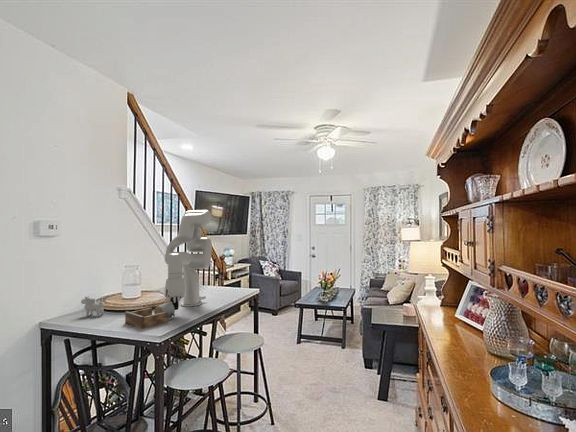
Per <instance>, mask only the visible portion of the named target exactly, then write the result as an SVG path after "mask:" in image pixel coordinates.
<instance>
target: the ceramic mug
mask: <svg viewBox="0 0 576 432" xmlns="http://www.w3.org/2000/svg"><path fill="white" fill-rule="evenodd" d="M163 312H167V316H168V321H171V320H174V319H175V316H176V313H175V312H176V310H175V308H174V306H173V304H172V302H171V301H170V302H169V301H168V302H165V303H162V304H159V305H157V306H155V308H154V314H153V315H155V314H159V313H163Z"/></svg>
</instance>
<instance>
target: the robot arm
mask: <svg viewBox="0 0 576 432" xmlns="http://www.w3.org/2000/svg"><path fill="white" fill-rule="evenodd" d="M211 220H212V214H211V211H209V210H208V209H196V210H195V209H192V210H187V211H185V212H184V213H183V215H182V218H181V220H180V223H179V224H180V225H179V229H178V233H177V235H176V236H175V237H173V239H172V240H171V241H170V242H169V243H168V244H167V246H166V250H165V254H164V262H165V264H166V265H167V278H166V279H165V285H164V297H165V300H166V301H170V302H171V303H172V304H173V306H174V308H175V311H177V310H179V305H180V306H182V307H185V308H187V307H196V306H201V305H202V304H203V302H202V301H203V300H206V298H207V296H206V295H203V296H201V295H200V274H199V273H198V271H197V270H202V269H203V270H205V269H208V268H209V267H210V266H211V258H212V250H213V249H212V248H213V243H212V240H211V238H209V237H202V234H203V233H202V231H203V230H202V229H201V228H204V227H206V226H207V225H208V224H209V223H210V222H211ZM184 244H186V246H185V248H186V251H175V250H176V249H177V248H178V247H181V246H182V245H184ZM181 299H183V301H182V302H181V303H180V300H181ZM179 303H180V304H179Z"/></svg>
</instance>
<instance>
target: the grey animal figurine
mask: <svg viewBox="0 0 576 432" xmlns="http://www.w3.org/2000/svg"><path fill="white" fill-rule="evenodd" d="M80 303H81V304H82V305H83V304H84V310H85V313H86V314H85V317H90V315H93V314H94V312H96V317H98V318H99V316H102V315H103V316H104V310H105V309H104V308H105V303H103V302H102V301H98V302H97V301H96V299H95V298H92V296H90V295H88V296H84V299H83V298H82V299H81V300H80ZM89 314H90V315H89Z"/></svg>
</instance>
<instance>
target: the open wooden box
mask: <svg viewBox="0 0 576 432" xmlns="http://www.w3.org/2000/svg"><path fill="white" fill-rule="evenodd" d="M124 315H125V317H124V321H125V324H127V325H130V326H133V327H135V328H138V329H146V328H149V327H153V326H154V327H155V326H157V325H161V324H165V323H166V324H167V323H168V321H169V320H168V316H167V312H163V313H159V314H153V308H152V307H148V308H143V309H137V310H135V311H127V310H126V311H125V312H124ZM145 327H146V328H145Z"/></svg>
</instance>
